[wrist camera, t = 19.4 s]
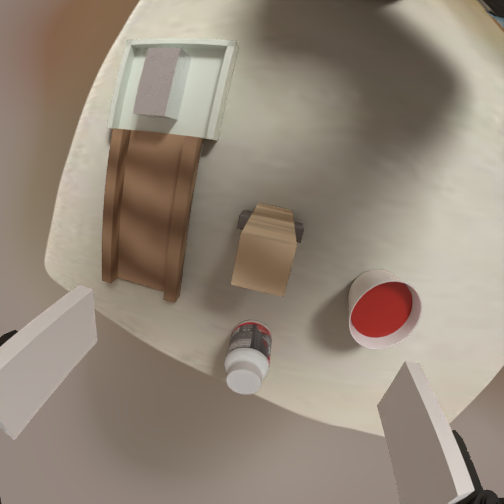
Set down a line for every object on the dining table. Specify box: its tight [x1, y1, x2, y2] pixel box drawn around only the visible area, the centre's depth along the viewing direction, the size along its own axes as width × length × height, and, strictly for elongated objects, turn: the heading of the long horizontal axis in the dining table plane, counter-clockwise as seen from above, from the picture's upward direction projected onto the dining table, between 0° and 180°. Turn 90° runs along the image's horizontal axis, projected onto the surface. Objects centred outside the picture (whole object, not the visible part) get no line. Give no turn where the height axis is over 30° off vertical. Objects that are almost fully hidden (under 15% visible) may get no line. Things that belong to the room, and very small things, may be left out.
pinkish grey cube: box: [133, 80, 185, 120], centre depth 28 cm, size 4×4×4 cm
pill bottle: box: [224, 320, 272, 394], centre depth 35 cm, size 5×5×10 cm
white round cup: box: [348, 269, 422, 349], centre depth 32 cm, size 9×9×6 cm
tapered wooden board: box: [231, 203, 304, 297], centre depth 27 cm, size 4×7×14 cm, turn 78°
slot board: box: [102, 128, 203, 303], centre depth 34 cm, size 20×11×3 cm, turn 168°
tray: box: [107, 38, 239, 141], centre depth 29 cm, size 12×14×2 cm
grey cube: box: [140, 48, 192, 88], centre depth 27 cm, size 4×4×4 cm
